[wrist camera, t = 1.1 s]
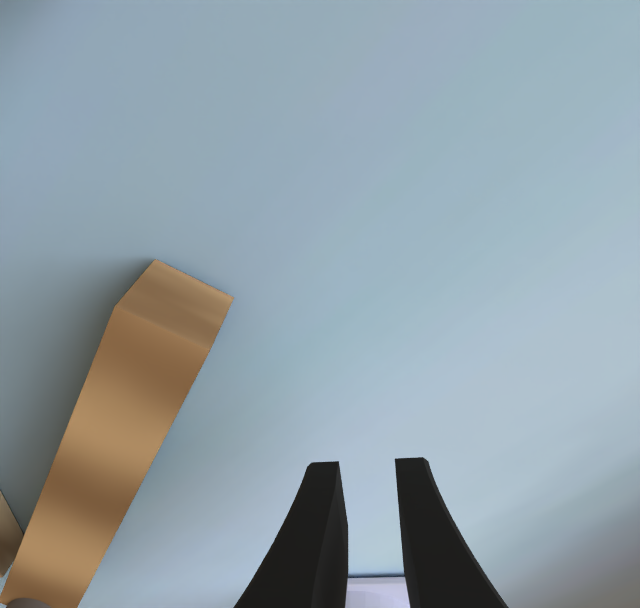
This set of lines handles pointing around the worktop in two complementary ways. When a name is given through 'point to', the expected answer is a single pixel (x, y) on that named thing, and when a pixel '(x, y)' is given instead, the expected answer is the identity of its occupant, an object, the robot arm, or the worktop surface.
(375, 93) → the worktop surface
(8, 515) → the stool seat
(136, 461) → the hinged leg
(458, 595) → the robot arm
